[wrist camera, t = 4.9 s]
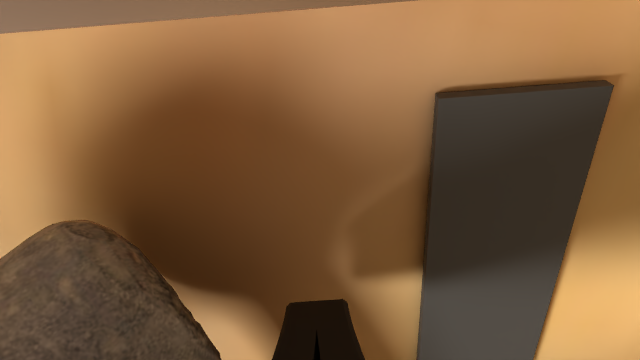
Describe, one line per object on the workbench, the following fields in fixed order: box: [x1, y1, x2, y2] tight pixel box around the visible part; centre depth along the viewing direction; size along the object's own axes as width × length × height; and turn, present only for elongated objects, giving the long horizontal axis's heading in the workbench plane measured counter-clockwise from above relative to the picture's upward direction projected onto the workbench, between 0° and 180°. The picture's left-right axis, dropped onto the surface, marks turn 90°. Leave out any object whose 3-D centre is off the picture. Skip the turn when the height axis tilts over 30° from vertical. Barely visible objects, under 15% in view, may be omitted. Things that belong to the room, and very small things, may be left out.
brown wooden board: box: [0, 0, 416, 34], centre depth 12 cm, size 17×10×2 cm, turn 4°
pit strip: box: [417, 80, 614, 360], centre depth 12 cm, size 10×4×1 cm, turn 4°
